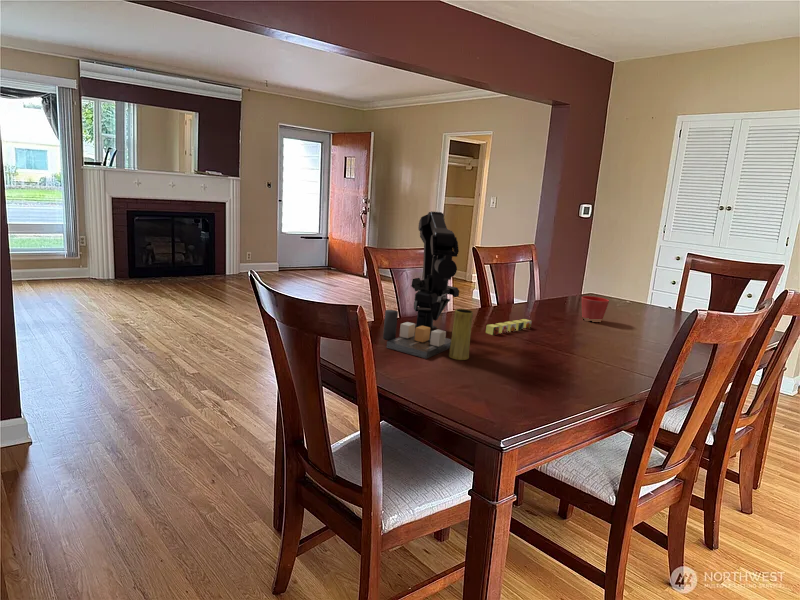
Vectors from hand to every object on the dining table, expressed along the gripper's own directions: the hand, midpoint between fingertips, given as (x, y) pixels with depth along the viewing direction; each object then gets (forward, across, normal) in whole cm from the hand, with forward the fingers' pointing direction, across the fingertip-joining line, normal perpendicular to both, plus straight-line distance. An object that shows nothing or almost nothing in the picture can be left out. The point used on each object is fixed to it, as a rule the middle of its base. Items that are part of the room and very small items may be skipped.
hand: (434, 320), depth 169 cm
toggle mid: (+5, +8, 0) cm, 9 cm away
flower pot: (+8, -83, +30) cm, 88 cm away
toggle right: (+5, +8, +6) cm, 11 cm away
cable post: (+7, +8, -12) cm, 16 cm away
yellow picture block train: (+8, -36, +14) cm, 40 cm away
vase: (+7, +8, +13) cm, 17 cm away
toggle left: (+5, +8, -5) cm, 11 cm away
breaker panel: (+7, +8, 0) cm, 11 cm away
